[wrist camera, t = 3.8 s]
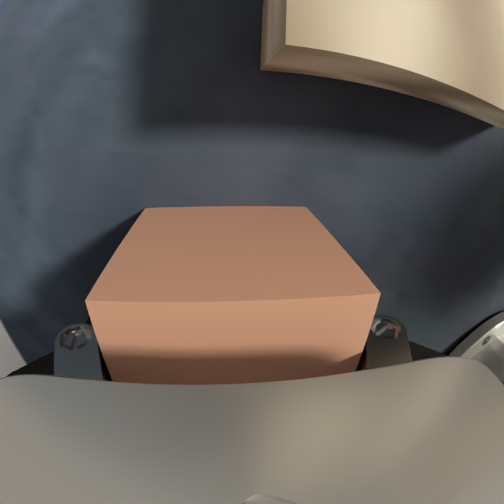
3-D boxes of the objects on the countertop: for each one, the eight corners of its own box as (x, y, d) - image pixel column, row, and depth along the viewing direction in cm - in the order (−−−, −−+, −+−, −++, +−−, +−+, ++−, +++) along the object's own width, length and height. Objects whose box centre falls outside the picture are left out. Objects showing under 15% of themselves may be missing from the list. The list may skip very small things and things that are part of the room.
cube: (306, 206, 11) (380, 293, 6) (291, 331, 14) (326, 439, 8) (145, 208, 11) (85, 301, 5) (162, 335, 13) (144, 448, 8)
